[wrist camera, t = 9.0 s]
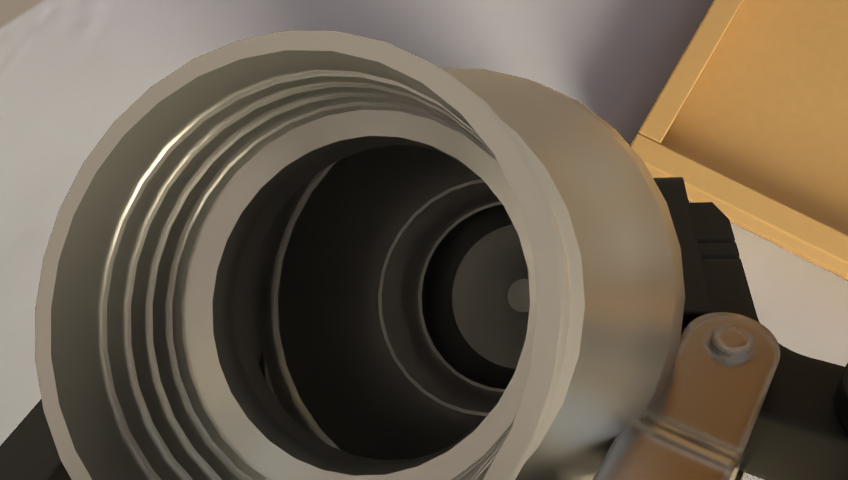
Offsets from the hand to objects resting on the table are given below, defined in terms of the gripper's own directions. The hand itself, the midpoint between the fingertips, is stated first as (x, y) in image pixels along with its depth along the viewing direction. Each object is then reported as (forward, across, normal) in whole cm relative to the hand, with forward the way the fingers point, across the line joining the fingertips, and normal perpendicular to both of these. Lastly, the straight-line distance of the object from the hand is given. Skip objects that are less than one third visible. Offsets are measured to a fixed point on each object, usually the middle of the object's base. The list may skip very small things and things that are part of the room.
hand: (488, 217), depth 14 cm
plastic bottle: (+6, 0, +9) cm, 11 cm away
